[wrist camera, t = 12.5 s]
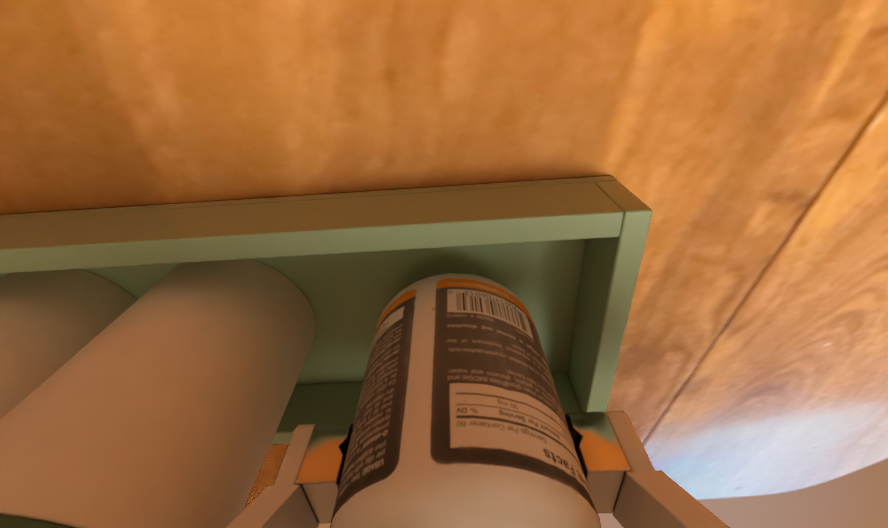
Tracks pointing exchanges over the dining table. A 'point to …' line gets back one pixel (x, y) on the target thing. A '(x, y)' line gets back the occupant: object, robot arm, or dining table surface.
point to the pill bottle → (460, 419)
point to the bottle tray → (383, 266)
